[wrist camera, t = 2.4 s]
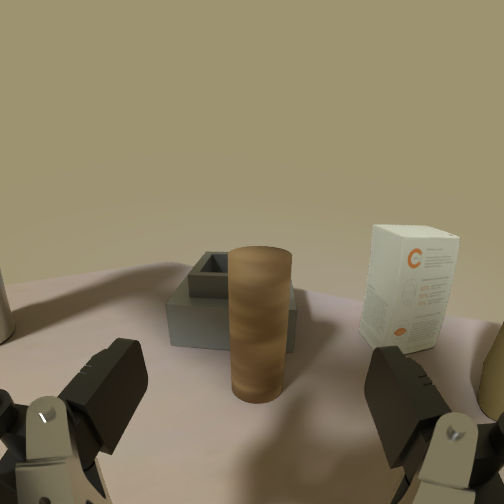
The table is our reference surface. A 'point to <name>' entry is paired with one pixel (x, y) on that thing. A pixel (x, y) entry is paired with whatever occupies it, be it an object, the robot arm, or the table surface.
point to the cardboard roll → (258, 320)
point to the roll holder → (209, 307)
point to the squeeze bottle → (493, 379)
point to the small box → (407, 286)
